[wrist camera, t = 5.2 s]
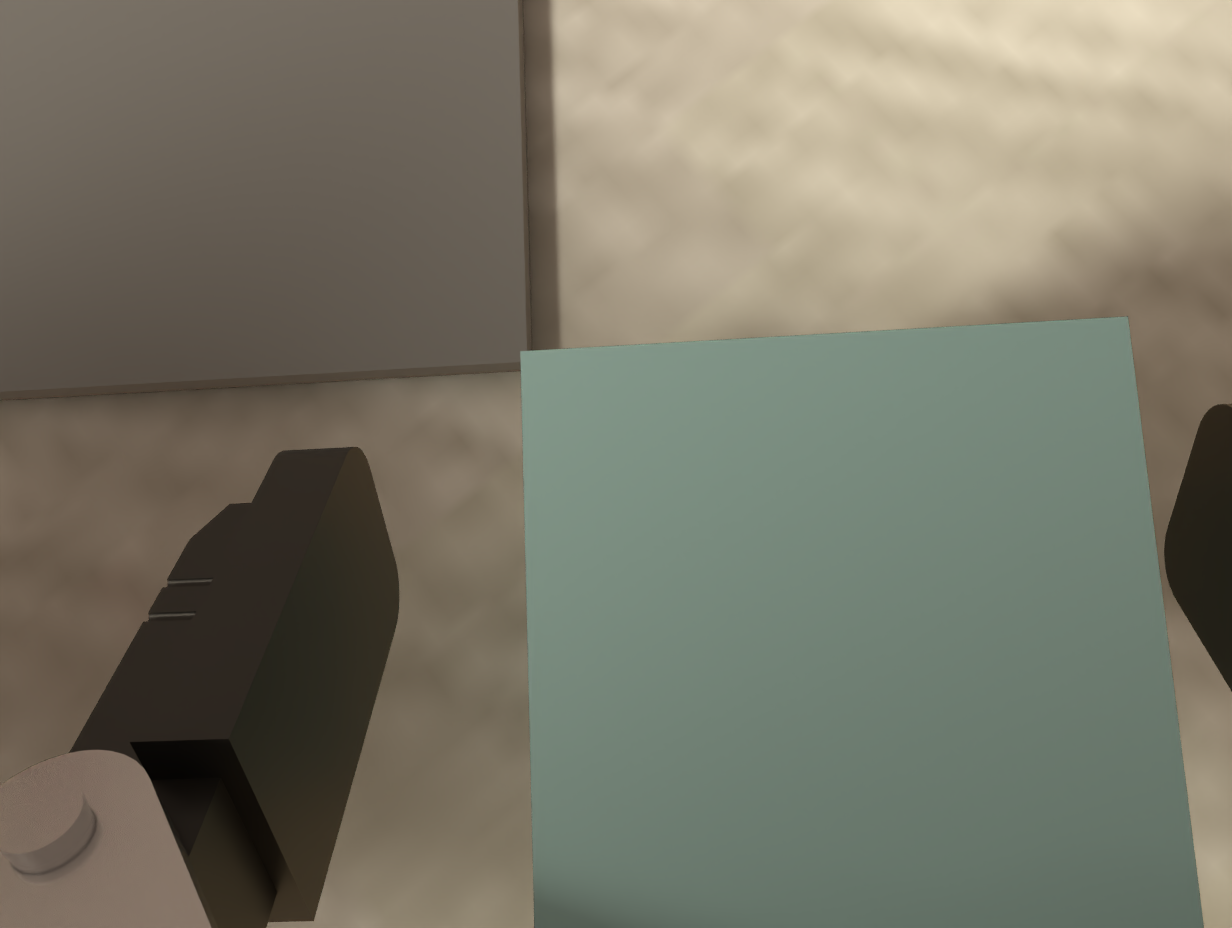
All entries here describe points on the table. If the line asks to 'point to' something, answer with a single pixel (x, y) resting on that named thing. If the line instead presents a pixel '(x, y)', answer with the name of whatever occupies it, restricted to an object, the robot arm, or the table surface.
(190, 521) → the table surface
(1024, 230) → the table surface
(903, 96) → the table surface
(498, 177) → the gray mat
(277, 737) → the robot arm
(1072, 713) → the teal block
